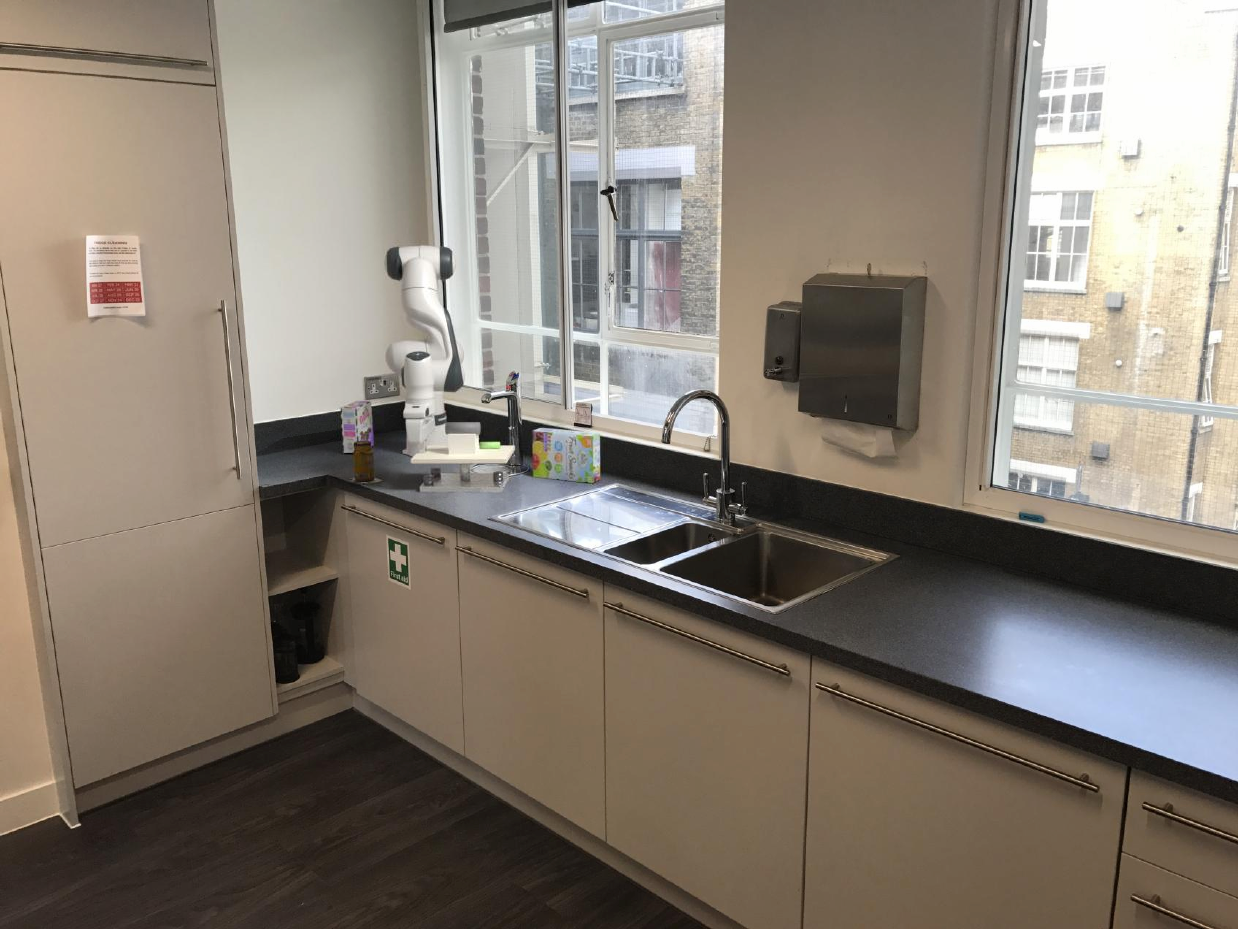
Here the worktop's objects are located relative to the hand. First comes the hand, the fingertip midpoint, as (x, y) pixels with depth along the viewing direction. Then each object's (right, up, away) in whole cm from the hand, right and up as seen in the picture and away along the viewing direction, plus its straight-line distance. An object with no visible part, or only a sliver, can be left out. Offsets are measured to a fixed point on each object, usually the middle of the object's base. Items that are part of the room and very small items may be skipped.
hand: (423, 452), depth 302 cm
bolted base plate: (+12, -10, +2) cm, 16 cm away
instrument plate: (+12, -1, 0) cm, 12 cm away
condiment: (-19, -9, +8) cm, 23 cm away
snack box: (+42, -8, +9) cm, 44 cm away
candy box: (-32, +1, +49) cm, 58 cm away
